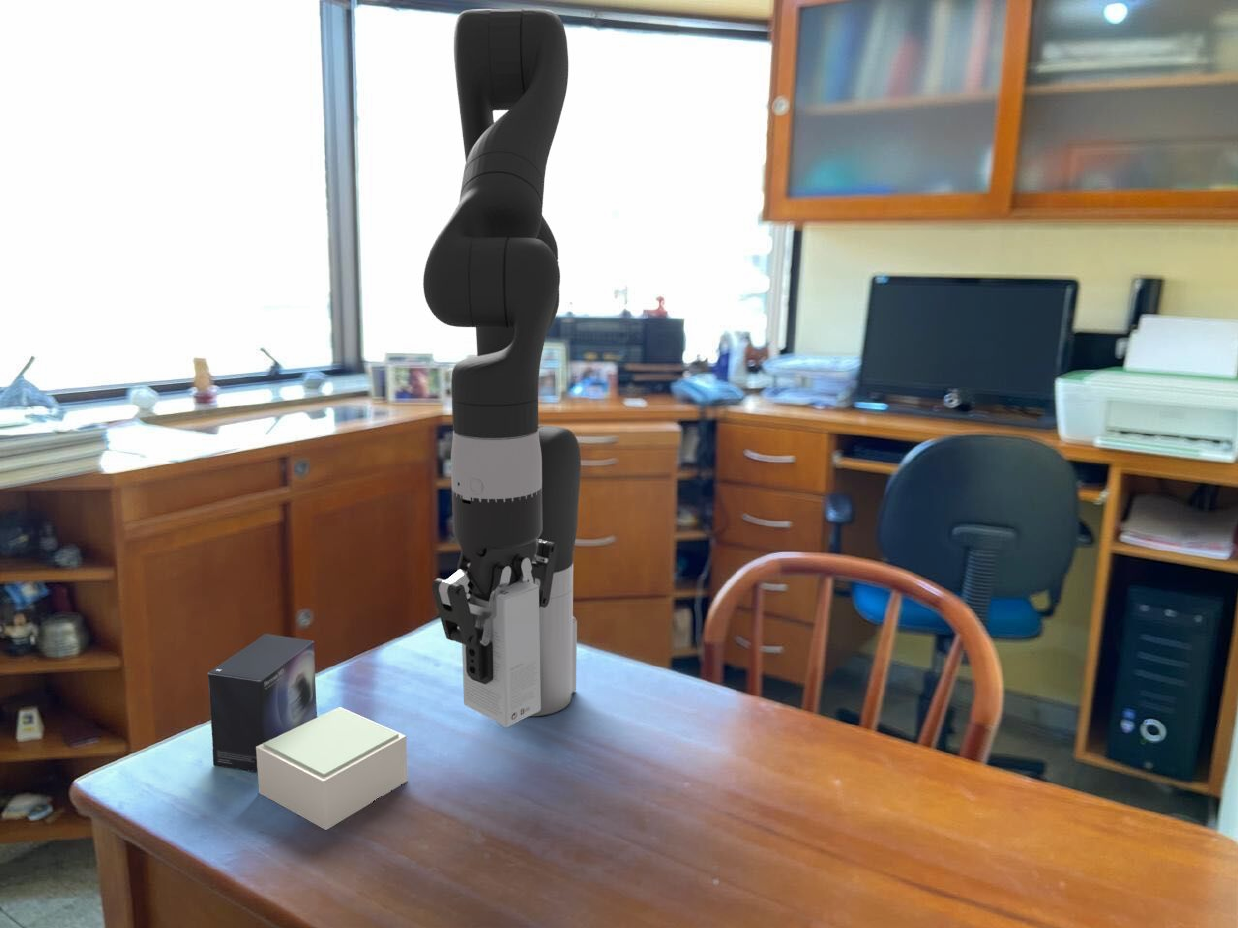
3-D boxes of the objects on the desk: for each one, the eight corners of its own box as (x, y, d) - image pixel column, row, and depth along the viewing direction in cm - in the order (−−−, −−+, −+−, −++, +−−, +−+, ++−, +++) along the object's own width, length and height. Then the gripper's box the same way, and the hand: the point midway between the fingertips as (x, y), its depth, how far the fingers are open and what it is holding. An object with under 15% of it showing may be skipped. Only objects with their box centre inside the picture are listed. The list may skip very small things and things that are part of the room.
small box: (268, 776, 93) (261, 680, 90) (210, 767, 94) (202, 673, 92) (321, 725, 103) (316, 637, 100) (269, 718, 104) (263, 631, 102)
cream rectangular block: (341, 749, 98) (339, 704, 97) (407, 780, 92) (406, 732, 91) (259, 792, 90) (255, 743, 89) (325, 829, 84) (323, 778, 83)
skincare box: (542, 711, 82) (541, 585, 79) (506, 729, 78) (503, 599, 75) (498, 688, 85) (495, 567, 82) (461, 704, 82) (457, 579, 79)
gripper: (517, 459, 85) (520, 630, 89) (401, 494, 73) (411, 689, 77) (583, 471, 81) (583, 650, 85) (472, 511, 69) (477, 715, 73)
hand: (500, 668), depth 81 cm, fingers closed on skincare box, 4 cm apart
